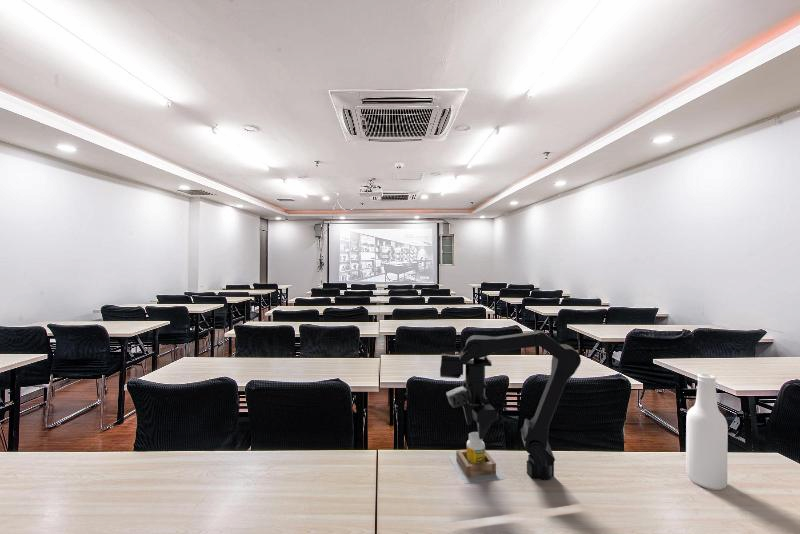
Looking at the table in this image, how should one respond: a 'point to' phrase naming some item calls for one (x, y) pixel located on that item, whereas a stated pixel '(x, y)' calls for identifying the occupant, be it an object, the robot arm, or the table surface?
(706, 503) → the table surface
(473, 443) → the supplement bottle
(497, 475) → the board
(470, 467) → the collar
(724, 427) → the alcohol
